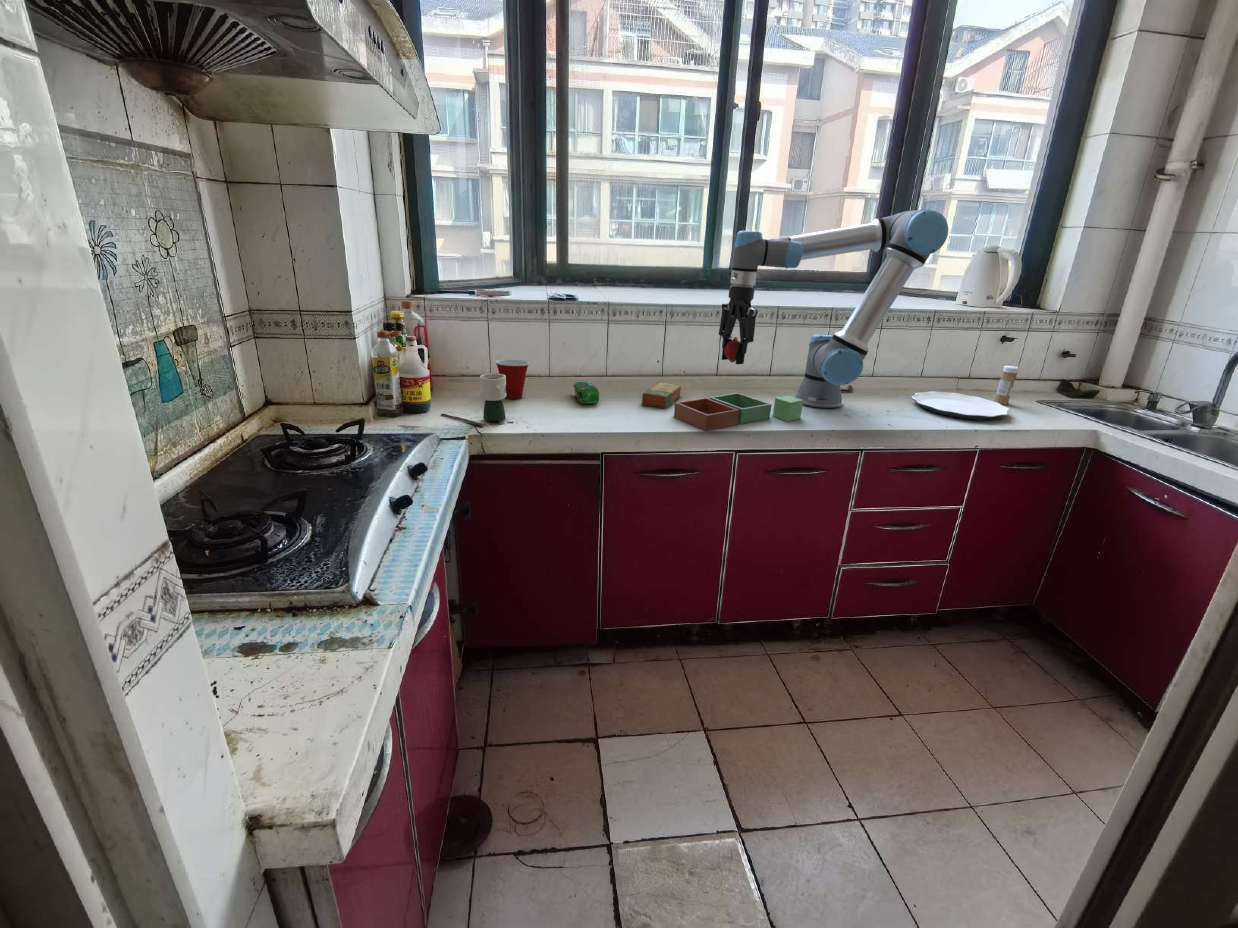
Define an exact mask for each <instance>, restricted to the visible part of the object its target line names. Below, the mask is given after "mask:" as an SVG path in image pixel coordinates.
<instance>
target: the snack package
mask: <svg viewBox="0 0 1238 928" xmlns="http://www.w3.org/2000/svg"><path fill="white" fill-rule="evenodd" d="M573 390H574V394H575V396H576V398H577V400H578V402H579V403H581V404H583V405H594V404H597V403H598V402H599V401H600V390H599V388H598V386H597V385H596V383H594V382H593V381H577V382H574V384H573Z"/></svg>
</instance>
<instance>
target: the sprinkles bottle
mask: <svg viewBox="0 0 1238 928" xmlns="http://www.w3.org/2000/svg"><path fill="white" fill-rule="evenodd" d="M1019 370H1020V368H1019V367H1018V366H1015V365H1004V366H1003V369H1002V374H1001V377H1000V379H999V382H998V383H999V385H998V387H997V389H996V390H997V391H996V394H995V398H994V400H993V401H994V402H997V403H999V404H1001V405H1002V406H1006V405H1009V403H1010V402H1009V401H1010V398H1011V395H1012V392H1013V388H1014V386H1015V385H1014V384H1015V381H1016V377H1017V375H1018V373H1019Z"/></svg>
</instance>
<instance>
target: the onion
mask: <svg viewBox="0 0 1238 928" xmlns="http://www.w3.org/2000/svg"><path fill="white" fill-rule="evenodd" d="M739 342H740V340H738V337H737V336H735V337H733V339H732V341H730V342H729V343H728V344H727V345H726V347H725V350H724V353H725V356H726V357H727V359H728V361H730V363H736V356H737V349H738V343H739Z"/></svg>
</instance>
